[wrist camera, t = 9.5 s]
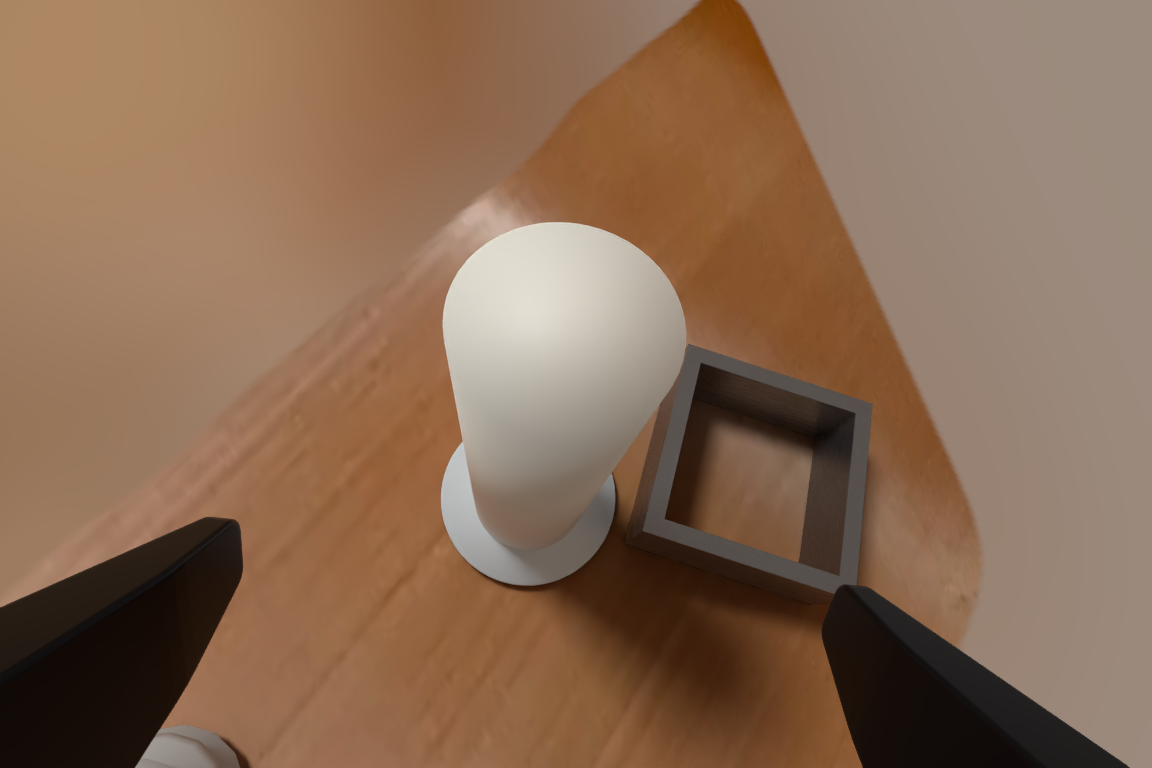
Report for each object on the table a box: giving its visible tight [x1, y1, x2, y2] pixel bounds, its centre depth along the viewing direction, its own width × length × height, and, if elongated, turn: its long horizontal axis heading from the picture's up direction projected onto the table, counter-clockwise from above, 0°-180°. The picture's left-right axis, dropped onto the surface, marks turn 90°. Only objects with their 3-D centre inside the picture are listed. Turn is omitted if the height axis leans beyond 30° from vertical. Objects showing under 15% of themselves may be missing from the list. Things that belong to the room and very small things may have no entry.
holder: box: [624, 344, 872, 605], centre depth 22 cm, size 7×7×3 cm
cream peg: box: [443, 222, 686, 551], centre depth 15 cm, size 4×4×13 cm
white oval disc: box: [441, 442, 615, 586], centre depth 22 cm, size 6×6×1 cm
